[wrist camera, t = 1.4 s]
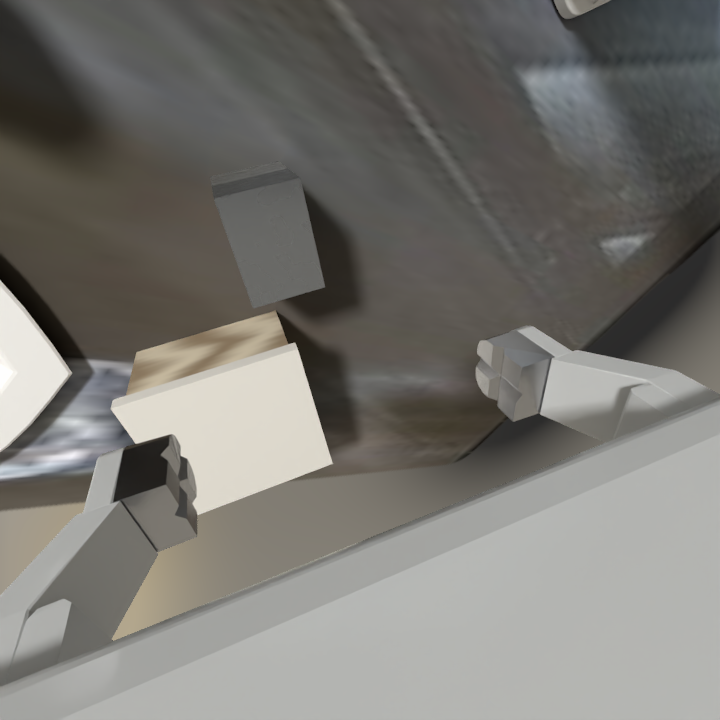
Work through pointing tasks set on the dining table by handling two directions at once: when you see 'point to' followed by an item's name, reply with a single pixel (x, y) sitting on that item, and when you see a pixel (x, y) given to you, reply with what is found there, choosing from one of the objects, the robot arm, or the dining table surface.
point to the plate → (24, 369)
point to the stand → (228, 408)
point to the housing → (269, 231)
